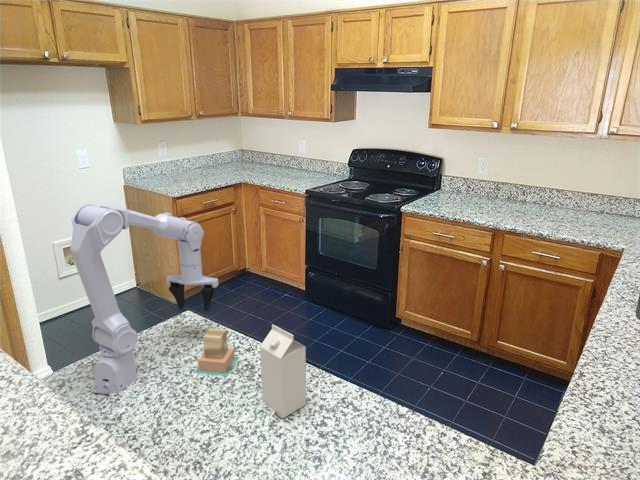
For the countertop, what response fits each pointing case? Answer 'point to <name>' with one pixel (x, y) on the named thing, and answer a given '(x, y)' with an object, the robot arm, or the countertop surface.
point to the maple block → (215, 343)
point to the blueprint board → (219, 373)
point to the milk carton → (283, 372)
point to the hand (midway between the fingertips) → (194, 308)
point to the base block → (216, 362)
